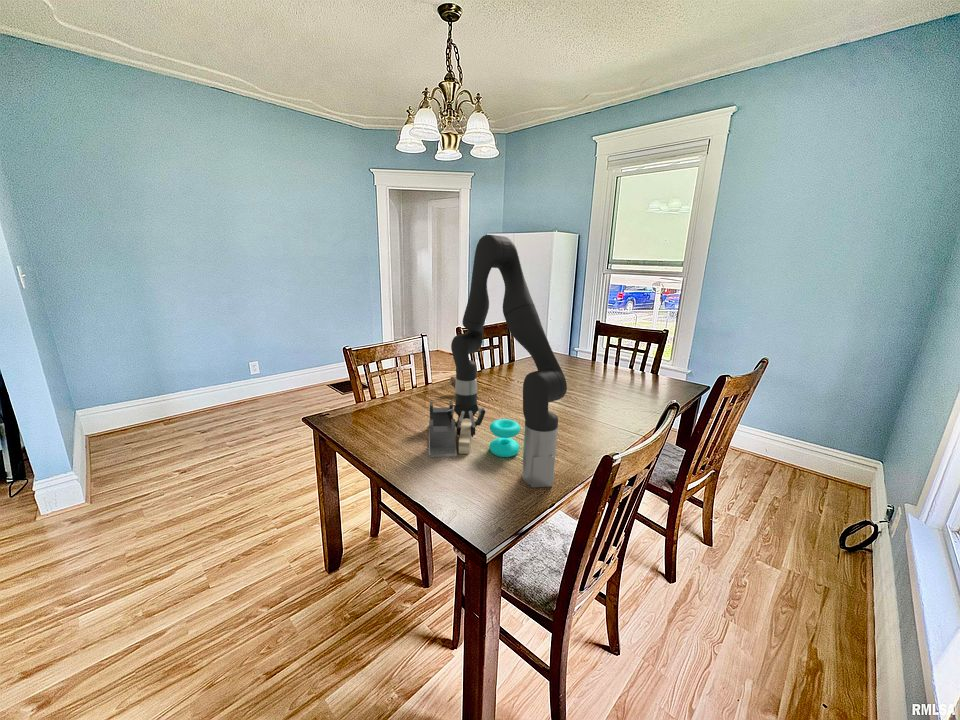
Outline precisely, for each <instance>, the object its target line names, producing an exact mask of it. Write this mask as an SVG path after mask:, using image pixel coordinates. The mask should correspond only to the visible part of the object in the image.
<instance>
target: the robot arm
mask: <svg viewBox="0 0 960 720" xmlns="http://www.w3.org/2000/svg"><path fill="white" fill-rule="evenodd" d="M492 268H493V269H494V268H495V269H498V270H499V272H500V275H501V277H502V280H503V283H504V296H503V300H502V314H503V317H504V319H505V322H506V325H507V327H508V330H509V332H510V334H511V336H513V338H514V339H515V340H516V342H518V343H519V344H520V346H522V347H523V349H525V350H526V351H527V353H529V355H530V356H531V358H532V360H533V362H534V365H535V367H536V369H537V370H535V371H531V372H529V373H528V374H526V376H525V378H524V380H523V385H522V413H523V417H524V434H523V435H524V437H523V453H522V454H523V456H522V476H521V479H522V480H523V482H525V483H526V484H527V485H529V486H530V487H531V488H548V487H549V488H550V487H553V484H554V479H555V467H556V466H555V465H556V456H557V455H556V454H557V441H558V440H557V439H558V430H559V429H558V428H559V418H558V415H557V414H555V413H554V412H553V411H550V410H549V404H550V403H553V402H555V401H558V400H561V399H562V398H564V397H565V396H566V394H567V390H568V384H567V379H566V376H565V374H564V372H563V369H562V367H561V366H560V364H559V361H558V360H557V358H556V355H555V354H554V351H553V350H552V347H551V345H550V342H549V340H548V338H547V336H546V335H547V334H546V332H545V330H544V328H543V324H542V322H541V319H540V317H539V313H538V310H537V309H536V305H535V303H534V301H533V298H532V296H531V293H530V290H529V288H528V287H529V286H528V285H527V281H526V279H525V276H524V272H523V269H522V264H521V261H520V257H519V253H518V249H517V246H516V244H515V242H514V241H513V240H512V239H511V238H509V237H507V236H502V235H495V234H485V235H483V236H481V238H480V239H478V242H477V244H476V247H475V252H474V258H473V264H472V272H471V282H470V289H469V295H468V299H467V303H466V307H465V310H464V314H463V317H462V321H461V322H462V326H463V327H464V328H465V329H467V331H466V333H461V334H456V335H455V336H454V337H453V338H452V340H451V344H450V349H451V352H452V353H451V354H452V357H453V361H454V365H455V377H456V383H455V388H454V393H455V399H454V401H455V405H454V406H453V409H447V414H448V417H449V419H450V422H451V419H455V417H454V413H455V414H456V415H457V420H456V421H455V428H456V435H457V436H458V438H460V431H461V425H462V420H463V419H466V418H467V419H471V423H472V425H471V438H473V437H474V436H476V427H479V426H481V424H482V422H483V420H484V418H485V415H486V408H484V407H482V408H481V407H479V405H478V398H477V397H478V381H477V380H478V379H477V378H478V377H477V376H478V375H477V374H478V373H477V372H478V370H477V367H478V366H477V362H475V361H474V360H471V359H470V357H469V356H470V354H475V353H476V352H479V350H480V349H481V347H482V344H483V341H484V325H485V322H486V319H487V315H488V312H489V309H490V298H489V293H488V278H489V275H490V272H491V271H492ZM477 412H478V417H477V420H475V418H474V416H475V415H476V414H477Z"/></svg>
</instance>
